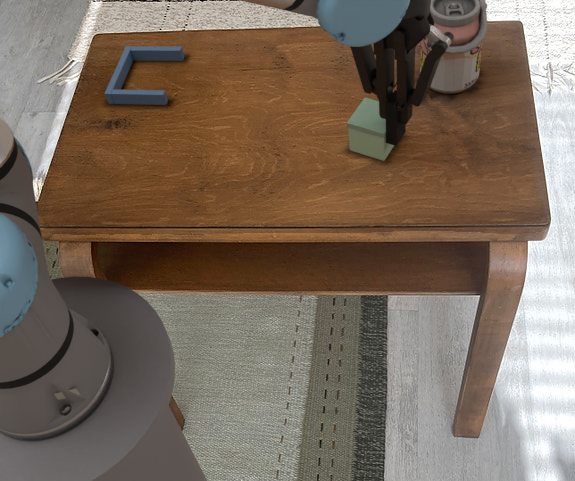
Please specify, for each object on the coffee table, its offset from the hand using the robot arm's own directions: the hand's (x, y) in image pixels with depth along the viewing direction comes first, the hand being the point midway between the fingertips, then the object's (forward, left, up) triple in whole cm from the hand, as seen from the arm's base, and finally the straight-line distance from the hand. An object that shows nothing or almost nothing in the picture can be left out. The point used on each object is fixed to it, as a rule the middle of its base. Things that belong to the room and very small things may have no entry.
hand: (395, 137), depth 95 cm
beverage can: (+6, +15, -3) cm, 17 cm away
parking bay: (-37, +14, -3) cm, 40 cm away
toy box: (-3, +2, -3) cm, 5 cm away
